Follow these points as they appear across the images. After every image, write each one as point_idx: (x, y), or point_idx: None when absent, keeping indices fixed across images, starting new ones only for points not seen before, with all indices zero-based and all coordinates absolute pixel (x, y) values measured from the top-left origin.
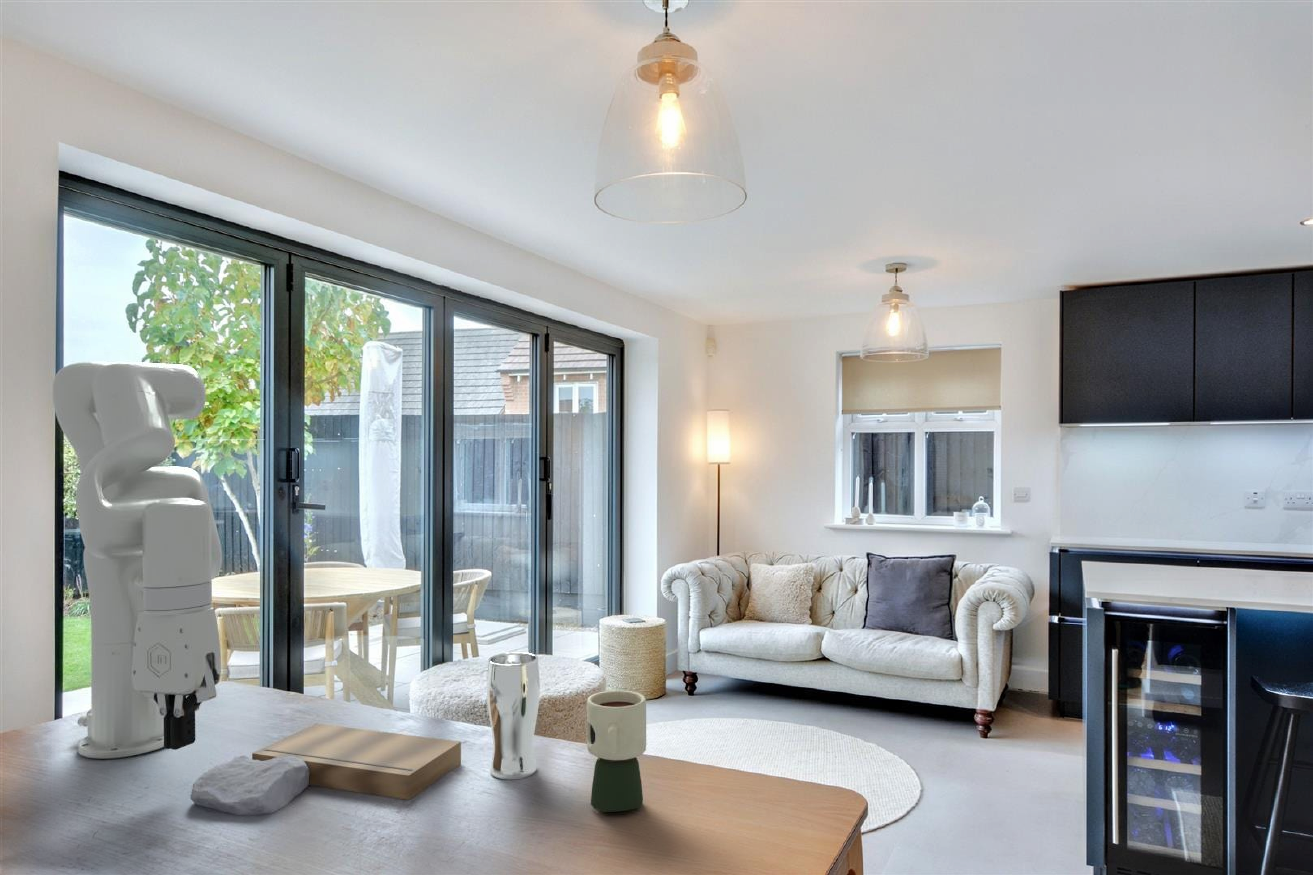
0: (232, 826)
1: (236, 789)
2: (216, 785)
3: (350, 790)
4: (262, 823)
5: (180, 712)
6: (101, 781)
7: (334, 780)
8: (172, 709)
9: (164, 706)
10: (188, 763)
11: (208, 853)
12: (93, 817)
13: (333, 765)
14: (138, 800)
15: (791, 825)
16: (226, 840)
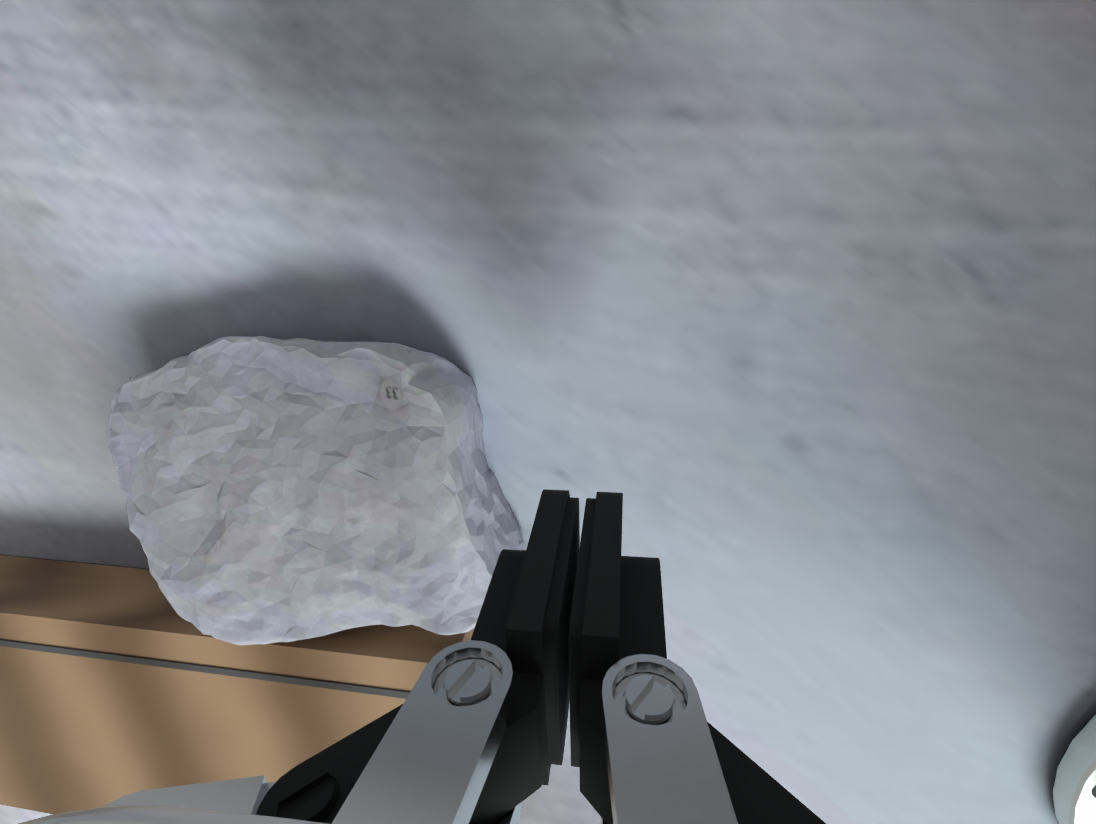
0: (177, 266)
1: (246, 408)
2: (339, 412)
3: (115, 567)
4: (119, 317)
5: (429, 672)
6: (1087, 445)
7: (148, 588)
8: (585, 727)
9: (624, 731)
10: (814, 653)
11: (44, 59)
12: (776, 129)
13: (108, 622)
14: (719, 335)
15: None
16: (93, 169)
